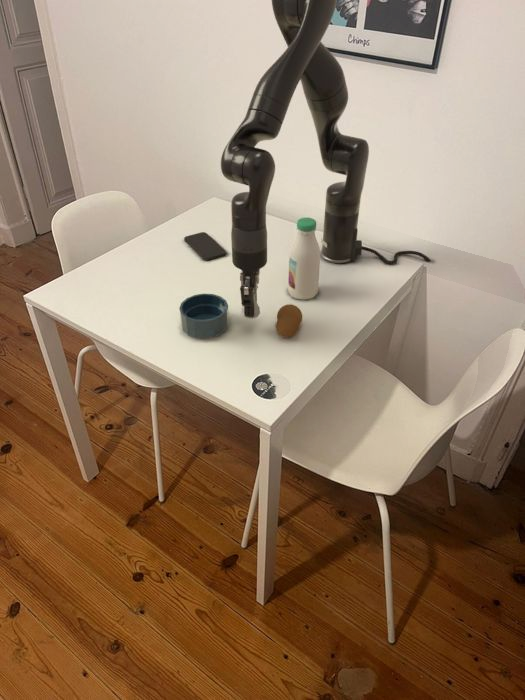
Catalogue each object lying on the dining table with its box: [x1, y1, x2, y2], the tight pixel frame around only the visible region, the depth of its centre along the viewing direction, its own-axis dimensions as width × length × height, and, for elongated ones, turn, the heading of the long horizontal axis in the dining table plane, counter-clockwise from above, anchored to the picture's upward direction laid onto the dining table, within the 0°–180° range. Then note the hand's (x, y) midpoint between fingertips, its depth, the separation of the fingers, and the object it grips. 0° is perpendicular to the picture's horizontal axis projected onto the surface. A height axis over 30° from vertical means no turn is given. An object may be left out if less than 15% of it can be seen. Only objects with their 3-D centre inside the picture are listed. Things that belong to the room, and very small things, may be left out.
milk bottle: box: [287, 217, 321, 300], centre depth 132 cm, size 8×8×20 cm
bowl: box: [178, 293, 230, 339], centre depth 125 cm, size 11×11×6 cm
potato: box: [275, 303, 303, 339], centre depth 123 cm, size 6×9×6 cm
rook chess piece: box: [240, 288, 261, 320], centre depth 121 cm, size 4×4×8 cm
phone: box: [183, 231, 227, 261], centre depth 157 cm, size 7×1×15 cm
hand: (250, 309), depth 123 cm, fingers closed on rook chess piece, 4 cm apart
